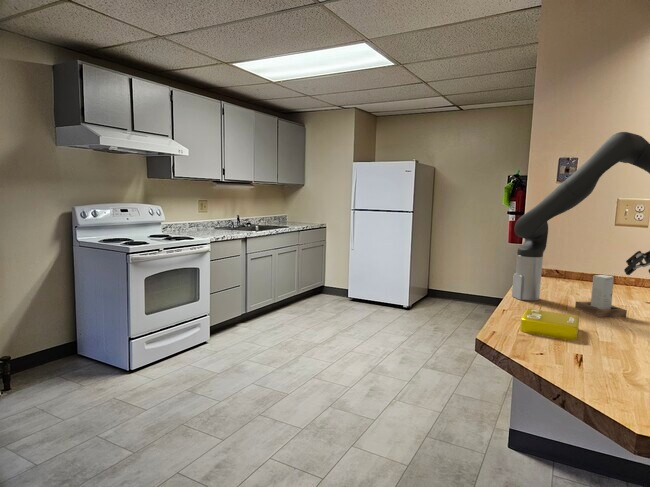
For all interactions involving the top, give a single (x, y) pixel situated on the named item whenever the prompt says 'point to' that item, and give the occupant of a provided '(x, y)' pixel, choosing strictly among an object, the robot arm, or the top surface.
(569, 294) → the top surface
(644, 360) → the top surface
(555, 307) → the top surface
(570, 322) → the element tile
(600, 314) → the seat block
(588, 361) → the top surface
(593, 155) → the robot arm
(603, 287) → the skincare box
